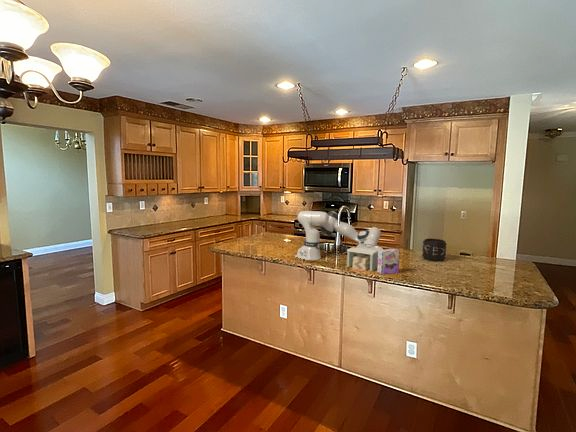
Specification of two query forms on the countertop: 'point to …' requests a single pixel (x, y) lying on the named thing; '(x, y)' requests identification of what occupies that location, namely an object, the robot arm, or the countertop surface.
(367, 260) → the birch block
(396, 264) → the candy box
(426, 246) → the lettered black canister
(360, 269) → the trap pit
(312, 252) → the robot arm
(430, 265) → the countertop surface
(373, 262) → the tunnel
